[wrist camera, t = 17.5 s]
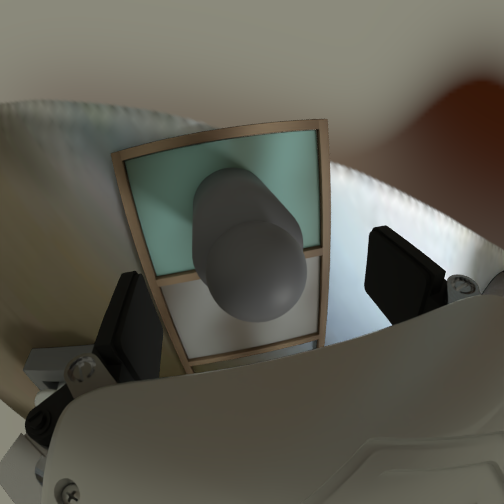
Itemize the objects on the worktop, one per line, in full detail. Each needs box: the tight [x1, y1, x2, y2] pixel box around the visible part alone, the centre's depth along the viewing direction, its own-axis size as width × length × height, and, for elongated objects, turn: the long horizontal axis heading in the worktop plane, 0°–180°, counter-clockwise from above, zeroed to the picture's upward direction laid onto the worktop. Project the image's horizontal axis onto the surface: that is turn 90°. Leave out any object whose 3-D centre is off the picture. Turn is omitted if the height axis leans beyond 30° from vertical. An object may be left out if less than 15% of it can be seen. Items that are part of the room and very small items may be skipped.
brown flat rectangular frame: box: [111, 119, 331, 375], centre depth 22 cm, size 13×28×1 cm, turn 7°
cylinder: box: [192, 168, 307, 323], centre depth 13 cm, size 5×5×10 cm
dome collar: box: [23, 345, 94, 391], centre depth 22 cm, size 9×9×3 cm
